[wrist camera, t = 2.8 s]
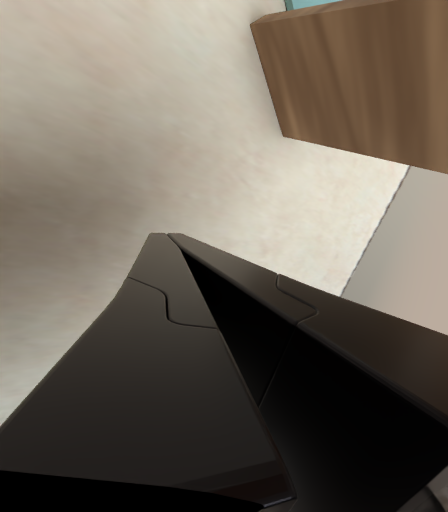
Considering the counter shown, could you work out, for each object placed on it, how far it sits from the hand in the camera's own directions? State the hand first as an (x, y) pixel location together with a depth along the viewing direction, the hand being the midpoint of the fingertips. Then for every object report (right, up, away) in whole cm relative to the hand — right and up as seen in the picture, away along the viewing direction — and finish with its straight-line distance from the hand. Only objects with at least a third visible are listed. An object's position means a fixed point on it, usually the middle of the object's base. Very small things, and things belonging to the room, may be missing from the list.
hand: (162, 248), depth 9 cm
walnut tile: (+5, +11, +13) cm, 18 cm away
